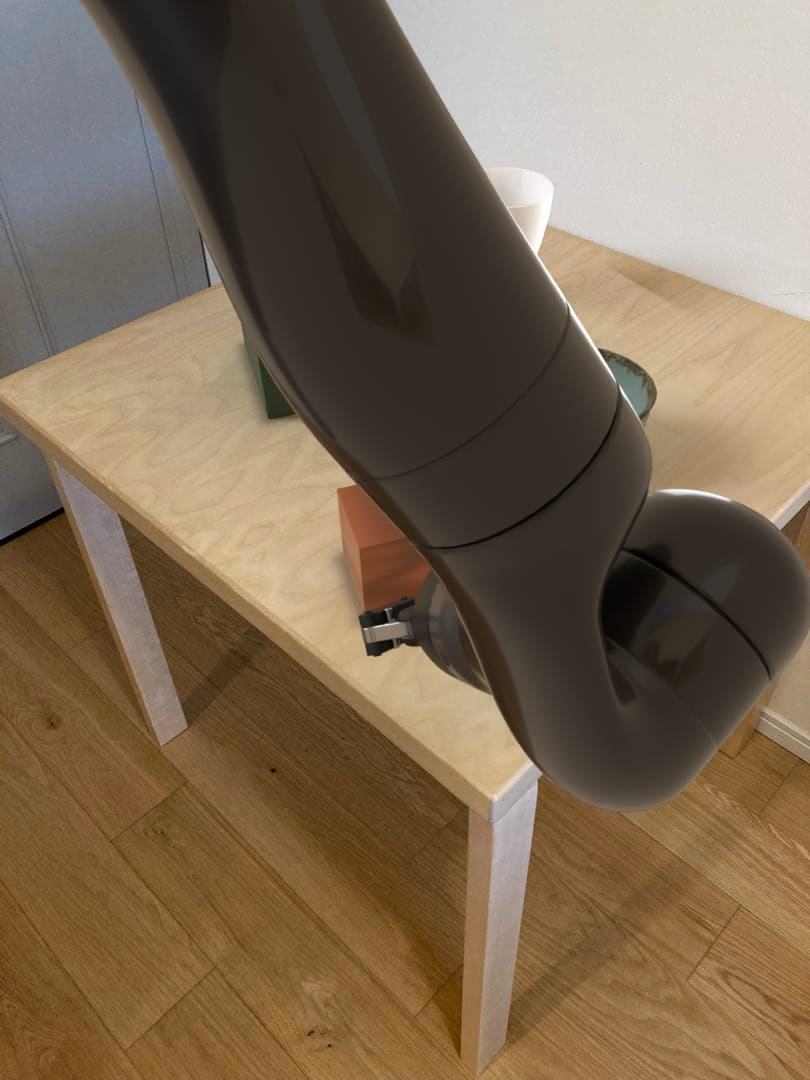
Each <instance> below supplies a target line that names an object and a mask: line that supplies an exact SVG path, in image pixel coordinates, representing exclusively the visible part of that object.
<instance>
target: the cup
mask: <svg viewBox="0 0 810 1080" xmlns="http://www.w3.org/2000/svg"><path fill="white" fill-rule="evenodd" d="M483 169H484V171H485V172H486V174H487V175H488V177H489V179H490V180H491V182H492V183H493V185H494V187H495V188H496V190H497V192H498V193H499V195H500V196H501V198H502V200H503V201H504V203H505V204H506V206H507V207H508V209H509V211H510V212H511V214H512V215H513V217H514V219H515V220H516V222H517V223H518V225H519V227H520V228H521V230H522V231H523V233H524V234H525V236H526V238H527V239H528V241H529V242H530V244H531V245H532V247H533V249H534V250H535V252H536V253H537V254H538V252H539V249H540V247H541V244H542V242H543V239H544V235H545V231H546V227H547V224H548V220H549V217H550V213H551V208H552V202H553V195H554V185H553V183H552V181H551V179H549V178H548V177H546V176H545V175H544V174H541V173H539V172H537V171H534V170H530V169H526V168H521V167H513V166H496V167H486V168H483Z"/></svg>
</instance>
